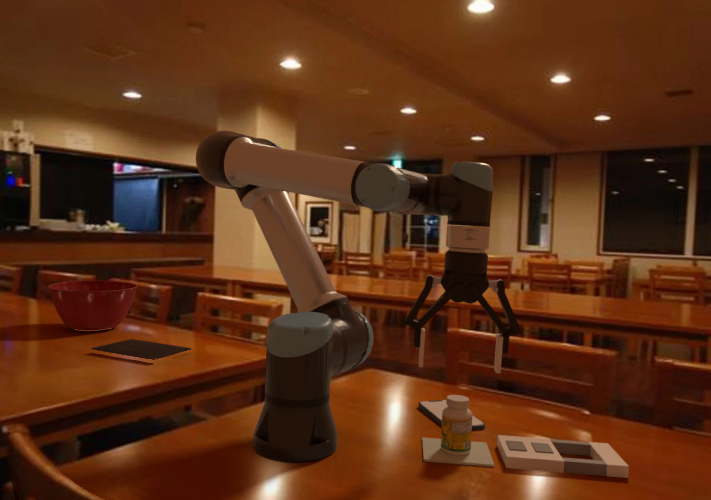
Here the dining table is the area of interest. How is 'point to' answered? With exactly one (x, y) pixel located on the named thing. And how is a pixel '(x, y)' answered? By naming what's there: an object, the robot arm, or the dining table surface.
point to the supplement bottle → (456, 426)
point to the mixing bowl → (92, 303)
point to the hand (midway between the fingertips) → (458, 368)
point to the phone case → (436, 409)
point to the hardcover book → (141, 349)
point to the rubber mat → (476, 456)
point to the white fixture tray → (547, 456)
